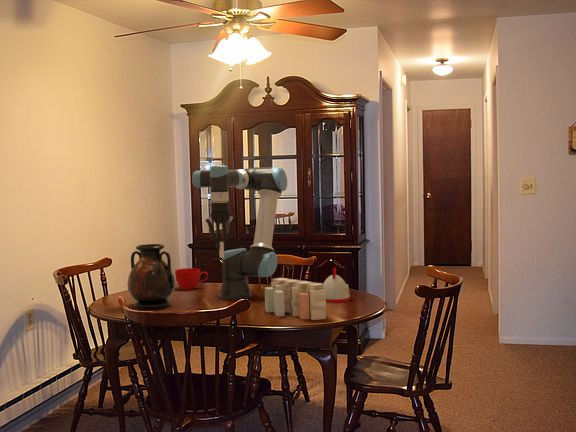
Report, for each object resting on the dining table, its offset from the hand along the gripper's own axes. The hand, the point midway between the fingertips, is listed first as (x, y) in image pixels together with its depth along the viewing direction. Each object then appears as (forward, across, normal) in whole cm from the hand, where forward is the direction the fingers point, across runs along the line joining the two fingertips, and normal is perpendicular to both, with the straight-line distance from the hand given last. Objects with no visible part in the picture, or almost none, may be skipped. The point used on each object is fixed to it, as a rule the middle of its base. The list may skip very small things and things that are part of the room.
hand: (221, 257), depth 291 cm
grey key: (+24, +22, -13) cm, 35 cm away
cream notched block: (+24, +30, -13) cm, 40 cm away
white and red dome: (+25, +54, +10) cm, 60 cm away
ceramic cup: (+25, -5, +65) cm, 70 cm away
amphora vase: (+25, -28, +28) cm, 47 cm away
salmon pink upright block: (+24, +30, -22) cm, 44 cm away
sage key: (+24, +20, -4) cm, 31 cm away
